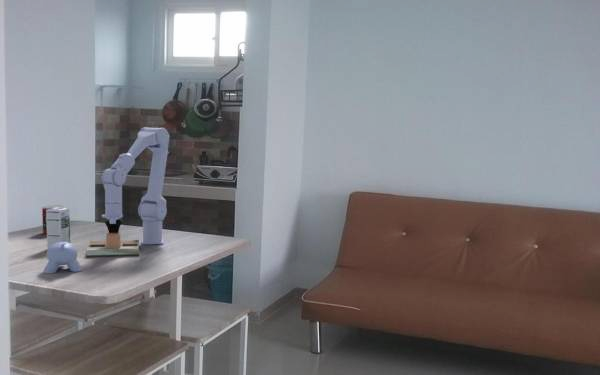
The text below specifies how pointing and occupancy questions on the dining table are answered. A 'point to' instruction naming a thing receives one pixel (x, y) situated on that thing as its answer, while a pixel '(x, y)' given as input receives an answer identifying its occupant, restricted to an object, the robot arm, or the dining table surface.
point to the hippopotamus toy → (62, 257)
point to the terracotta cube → (113, 240)
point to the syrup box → (57, 225)
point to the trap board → (113, 249)
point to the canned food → (45, 215)
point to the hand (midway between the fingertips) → (113, 240)
